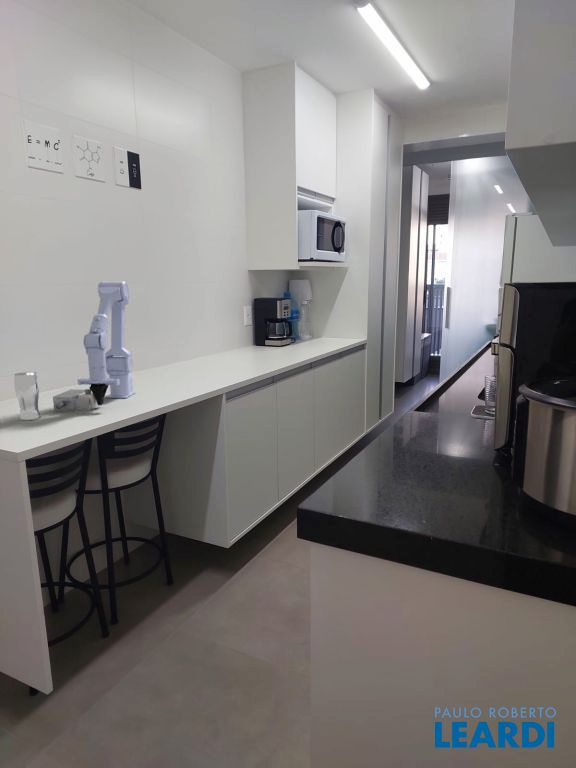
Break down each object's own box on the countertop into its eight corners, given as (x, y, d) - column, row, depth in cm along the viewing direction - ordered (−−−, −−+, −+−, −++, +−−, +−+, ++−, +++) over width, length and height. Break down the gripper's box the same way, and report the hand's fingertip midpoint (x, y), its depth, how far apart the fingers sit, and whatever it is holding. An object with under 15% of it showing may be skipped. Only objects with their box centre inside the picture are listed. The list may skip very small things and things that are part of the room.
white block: (86, 405, 184) (84, 387, 182) (99, 405, 183) (97, 388, 182) (79, 408, 179) (77, 390, 177) (92, 409, 178) (91, 391, 177)
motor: (71, 402, 188) (70, 389, 187) (102, 403, 187) (101, 390, 186) (49, 412, 173) (47, 398, 172) (82, 413, 172) (81, 399, 171)
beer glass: (28, 422, 162) (23, 376, 159) (13, 419, 165) (8, 374, 162) (46, 416, 168) (42, 372, 165) (32, 414, 171) (27, 371, 168)
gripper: (72, 368, 174) (75, 406, 177) (112, 369, 173) (115, 407, 176) (82, 365, 181) (85, 402, 184) (121, 365, 180) (123, 403, 183)
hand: (100, 404), depth 180 cm, fingers closed
